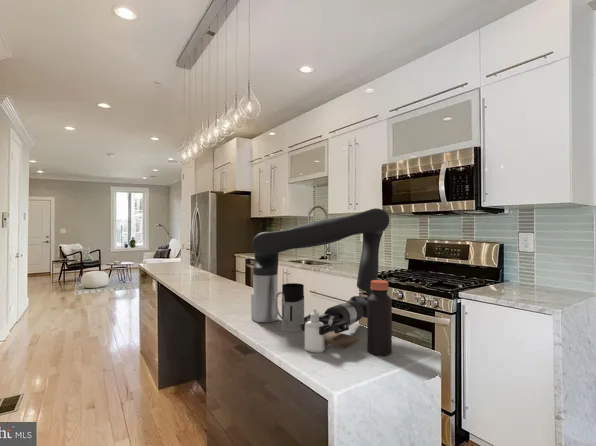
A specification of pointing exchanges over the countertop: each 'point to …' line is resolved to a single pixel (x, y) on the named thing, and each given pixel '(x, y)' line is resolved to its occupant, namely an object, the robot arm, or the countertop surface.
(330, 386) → the countertop surface
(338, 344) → the walnut board
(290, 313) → the glass holder
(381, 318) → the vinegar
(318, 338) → the eye dropper bottle
